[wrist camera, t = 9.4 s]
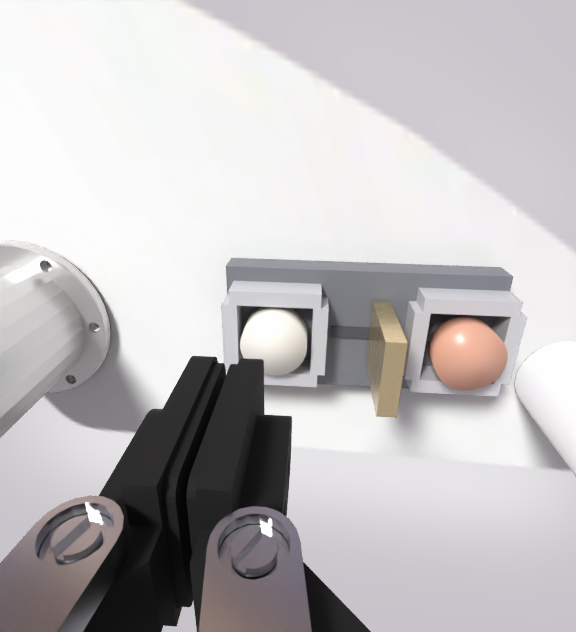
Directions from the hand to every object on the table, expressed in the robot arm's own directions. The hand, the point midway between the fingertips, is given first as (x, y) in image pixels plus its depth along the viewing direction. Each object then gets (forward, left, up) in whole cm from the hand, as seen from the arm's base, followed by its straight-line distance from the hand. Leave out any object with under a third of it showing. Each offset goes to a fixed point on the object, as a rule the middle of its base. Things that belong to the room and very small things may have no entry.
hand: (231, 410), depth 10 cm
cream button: (0, -7, -18) cm, 20 cm away
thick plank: (+7, -7, -19) cm, 21 cm away
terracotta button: (+12, -7, -18) cm, 22 cm away
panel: (+5, -7, -21) cm, 23 cm away
